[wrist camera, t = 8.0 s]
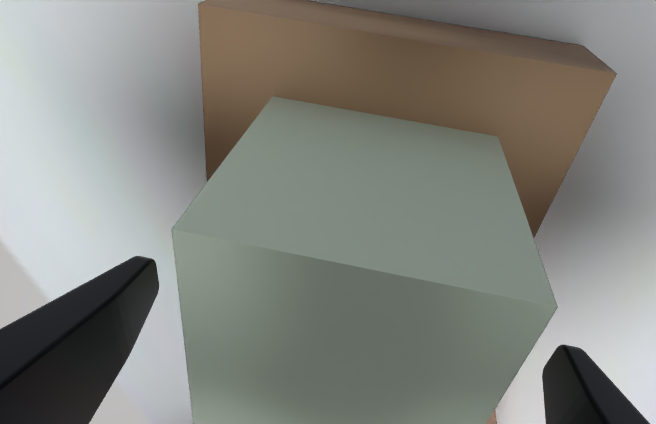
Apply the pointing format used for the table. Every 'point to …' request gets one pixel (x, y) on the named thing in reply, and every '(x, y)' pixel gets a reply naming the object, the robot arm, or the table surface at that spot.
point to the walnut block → (402, 80)
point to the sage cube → (356, 274)
